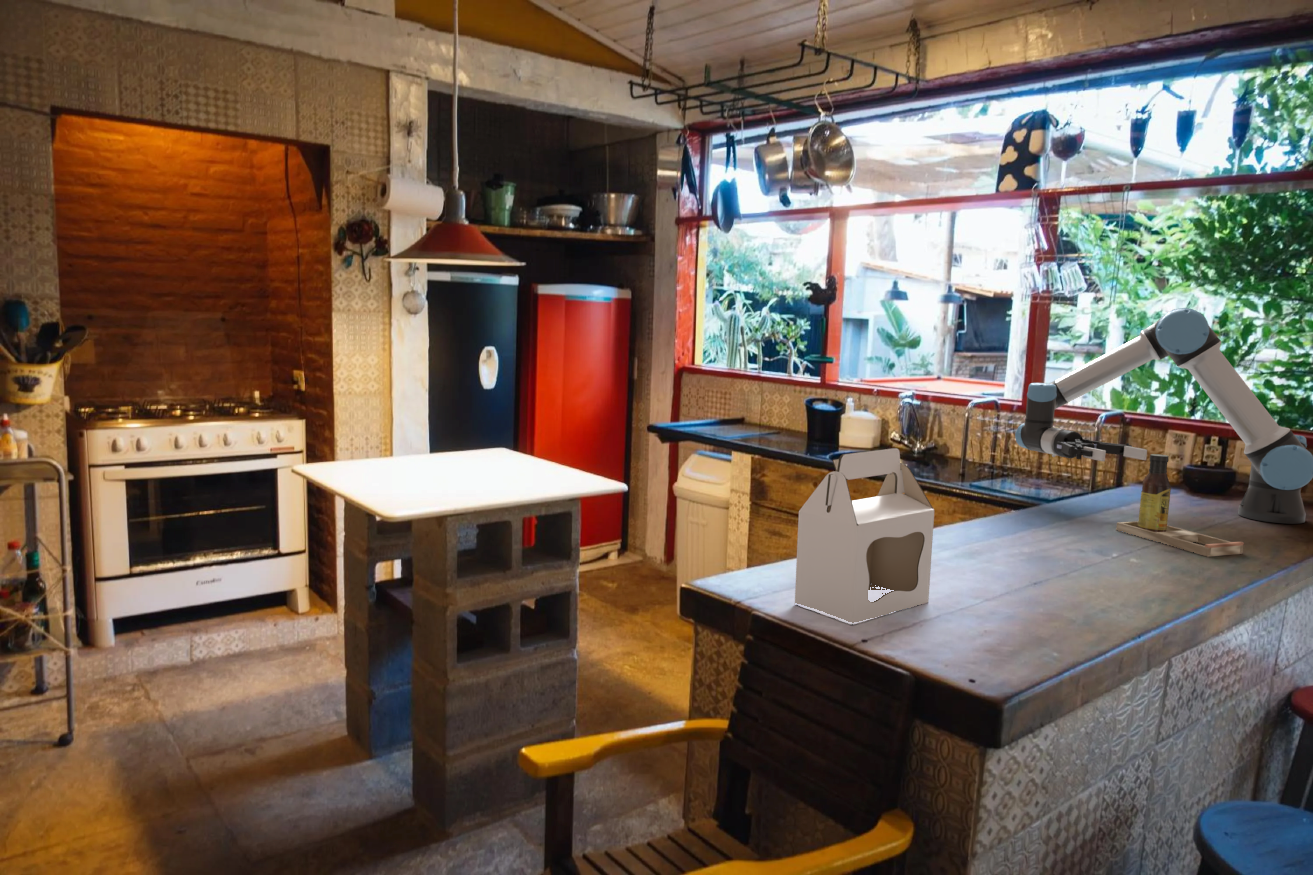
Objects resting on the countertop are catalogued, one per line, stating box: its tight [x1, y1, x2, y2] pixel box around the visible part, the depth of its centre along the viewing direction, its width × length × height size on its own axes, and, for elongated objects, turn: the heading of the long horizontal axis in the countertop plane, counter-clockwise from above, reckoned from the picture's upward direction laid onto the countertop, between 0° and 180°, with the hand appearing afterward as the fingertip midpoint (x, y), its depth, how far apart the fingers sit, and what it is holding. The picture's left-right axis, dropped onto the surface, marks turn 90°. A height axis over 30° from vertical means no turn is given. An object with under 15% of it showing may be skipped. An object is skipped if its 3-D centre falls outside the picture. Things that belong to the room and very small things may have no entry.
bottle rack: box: [1115, 520, 1245, 557], centre depth 216 cm, size 11×26×3 cm, turn 19°
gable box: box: [794, 447, 935, 623], centre depth 161 cm, size 22×13×28 cm, turn 129°
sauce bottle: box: [1137, 453, 1172, 532], centre depth 221 cm, size 6×6×20 cm
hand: (1125, 455), depth 229 cm, fingers open, 13 cm apart
